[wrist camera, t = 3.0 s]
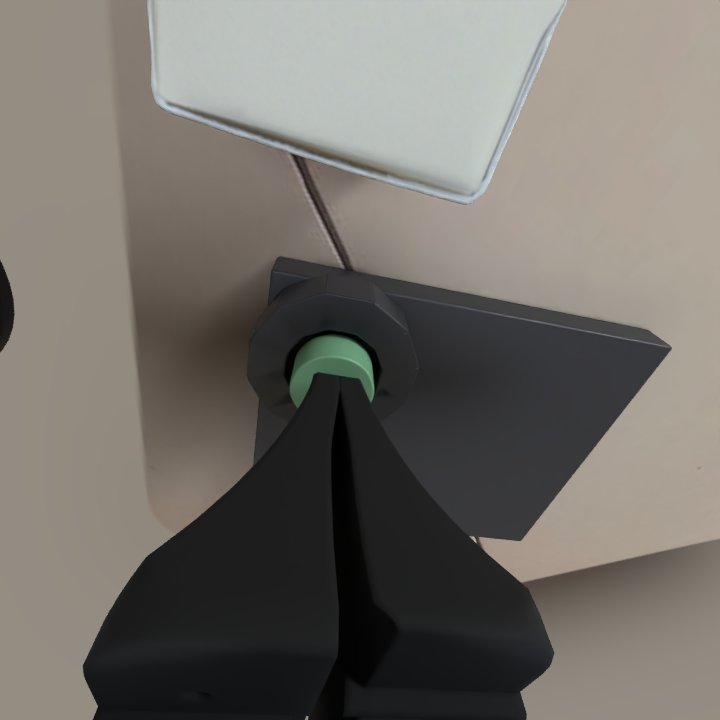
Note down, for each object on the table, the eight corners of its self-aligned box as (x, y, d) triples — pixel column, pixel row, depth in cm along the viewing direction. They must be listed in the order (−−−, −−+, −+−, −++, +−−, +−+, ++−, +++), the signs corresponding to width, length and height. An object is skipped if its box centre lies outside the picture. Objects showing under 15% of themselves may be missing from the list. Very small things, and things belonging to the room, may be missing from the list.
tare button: (290, 391, 13) (284, 417, 12) (299, 326, 12) (294, 349, 11) (362, 402, 13) (363, 428, 12) (380, 340, 12) (383, 364, 11)
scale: (249, 490, 20) (235, 544, 17) (271, 247, 13) (253, 278, 10) (511, 519, 22) (533, 571, 20) (652, 324, 15) (714, 366, 13)
